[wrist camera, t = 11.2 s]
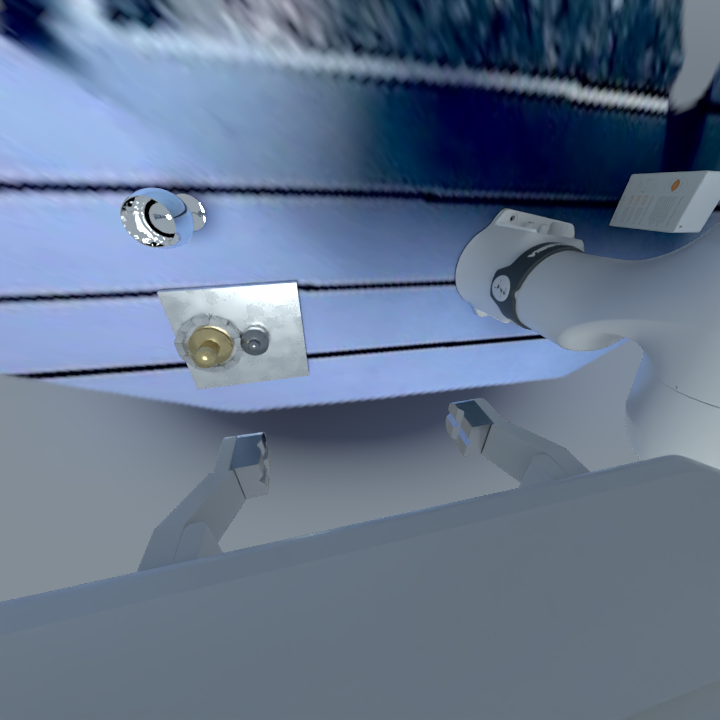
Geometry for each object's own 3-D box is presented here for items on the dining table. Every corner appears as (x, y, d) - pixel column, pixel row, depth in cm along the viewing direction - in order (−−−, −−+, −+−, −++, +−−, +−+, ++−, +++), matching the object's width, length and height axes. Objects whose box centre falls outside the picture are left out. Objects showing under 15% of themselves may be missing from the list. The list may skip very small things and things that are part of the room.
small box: (631, 226, 52) (699, 234, 43) (606, 225, 50) (672, 234, 42) (656, 174, 47) (739, 172, 39) (631, 173, 46) (709, 170, 38)
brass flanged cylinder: (226, 322, 44) (218, 338, 40) (238, 356, 48) (232, 374, 43) (184, 328, 44) (171, 345, 39) (199, 362, 47) (189, 381, 42)
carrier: (296, 280, 44) (296, 289, 41) (308, 371, 54) (309, 385, 50) (160, 289, 41) (147, 299, 37) (199, 385, 51) (192, 400, 47)
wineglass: (220, 227, 38) (195, 241, 28) (182, 242, 38) (144, 262, 29) (193, 180, 35) (154, 178, 25) (152, 197, 35) (96, 201, 25)
